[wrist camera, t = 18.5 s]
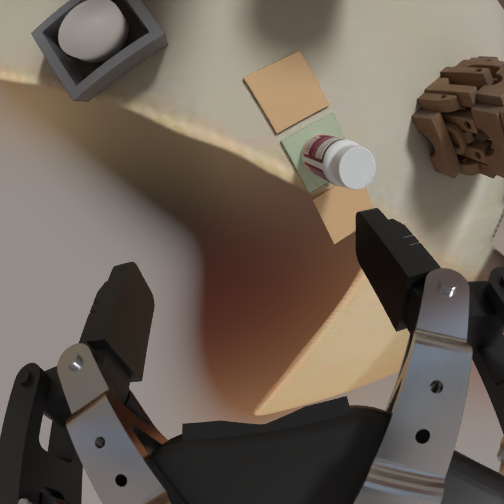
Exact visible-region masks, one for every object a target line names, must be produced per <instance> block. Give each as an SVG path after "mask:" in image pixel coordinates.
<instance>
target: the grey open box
mask: <svg viewBox="0 0 504 504" xmlns="http://www.w3.org/2000/svg"><path fill="white" fill-rule="evenodd" d="M85 1H87V0H70V1H68V2H67V3H66V4H64V5H63V6H62V7H61V8H59V9H58V10H57V11H56V12H55V13H53V14H52V15H51V16H50V17H49V18H47V19H46V20H45V21H44V22H43V23H42V24H41V25H40V26H38V27H37V28H36V29H35V30H34V31H33V32H32V33H31V34H32V36H33V37H34V39H35V41H36V43H37V44H38V46H39V48H40V49H41V51H42V53H43V54H44V56H45V58H46V59H47V61H48V62H49V64H50V66H51V67H52V69H53V71H54V72H55V74H56V75H57V77H58V78H59V80H60V82H61V83H62V85H63V86H64V88H65V89H66V91H67V92H68V94H69V95H70V97H71V99H72V100H73V101H86V102H88V101H90V100H91V99H92V98H93V97H95V96H96V95H97V94H98V93H99V92H101V91H102V90H103V89H104V88H106V87H107V86H108V85H110V84H111V83H112V82H113V81H115V80H116V79H117V78H119V77H120V76H121V75H123V74H124V73H126V72H127V71H128V70H130V69H131V68H133V67H134V66H136V65H137V64H138V63H140V62H141V61H143V60H144V59H146V58H147V57H149V56H151V55H152V54H154V53H155V52H157V51H158V50H160V49H162V48H163V47H165V46H167V45H168V42H167V39H166V36H165V33H164V32H163V30H162V29H161V27H160V26H159V25H158V23H157V22H156V20H155V19H154V18H153V16H152V15H151V14H150V12H149V11H148V10H147V8H146V7H145V5H144V4H143V3H142V1H141V0H124V1H125V2H126V3H127V5H128V6H129V8H130V9H131V10H132V12H133V13H134V14H135V16H136V17H137V19H138V20H139V21H140V23H141V24H142V26H143V27H144V28H145V30H146V31H147V34H145V35H144V36H142V37H141V38H139V39H138V40H136V41H135V42H133V43H132V44H130V45H129V46H127V47H126V48H124V49H123V50H121V51H120V52H119V53H117V54H116V55H114V56H113V57H112V58H110V59H109V60H108V61H106V62H105V63H104V64H102V65H101V66H100V67H98V68H97V69H96V70H95V71H93V72H92V73H91V74H90V75H89V76H87V77H86V78H85V79H84V78H83V76H82V75H81V73H80V72H79V70H78V69H77V67H76V66H75V64H74V62H73V61H72V59H71V58H70V56H69V55H68V54H67V53H65V52H64V51H63V50H62V49H61V47H60V45H59V41H58V33H59V29H60V26H61V23H62V22H63V20H64V18H65V17H66V16H67V14H68V13H69V12H70V11H71V10H72V9H73V8H75V7H76V6H77V5H79V4H81V3H82V2H85ZM110 1H112V0H110Z"/></svg>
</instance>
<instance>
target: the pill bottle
mask: <svg viewBox="0 0 504 504" xmlns="http://www.w3.org/2000/svg"><path fill="white" fill-rule="evenodd" d="M302 161H303V164H304V165H305V167H306V168H307V169H308V170H309V171H310V172H312V173H313V174H315V175H317V176H319V177H321V178H323V179H325V180H327V181H328V182H330V183H332V184H333V185H336V186H339V187H347V188H349V189H352V190H359V189H363V188H365V187H366V186H368V185H369V184H370V183H371V181H372V180H373V178H374V175H375V171H376V163H375V159H374V157H373V155H372V154H371V152H370V151H369V150H367V149H366V148H363V147H360V146H359V145H358V144H357V143H356V142H354V141H351V140H347V139H343V138H338V137H334V136H329V135H323V134H319V135H315V136H313V137H311V138H310V139H308V140H307V141H306V143H305V144H304V146H303V149H302Z"/></svg>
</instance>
